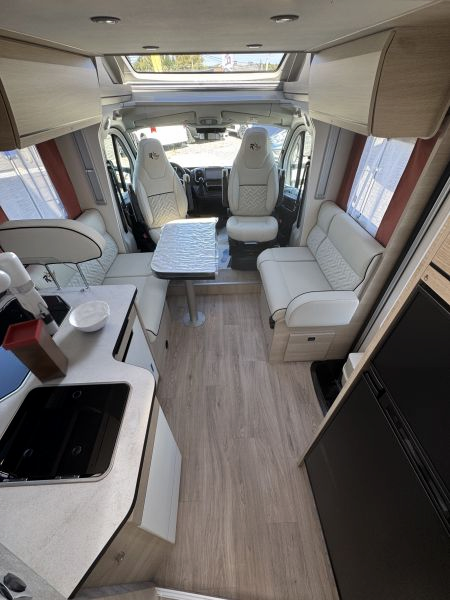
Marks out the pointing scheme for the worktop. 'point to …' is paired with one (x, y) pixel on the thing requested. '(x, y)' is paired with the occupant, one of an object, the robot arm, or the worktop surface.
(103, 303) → the bowl
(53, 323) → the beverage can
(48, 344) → the pedestal
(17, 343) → the red tray
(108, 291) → the worktop surface
